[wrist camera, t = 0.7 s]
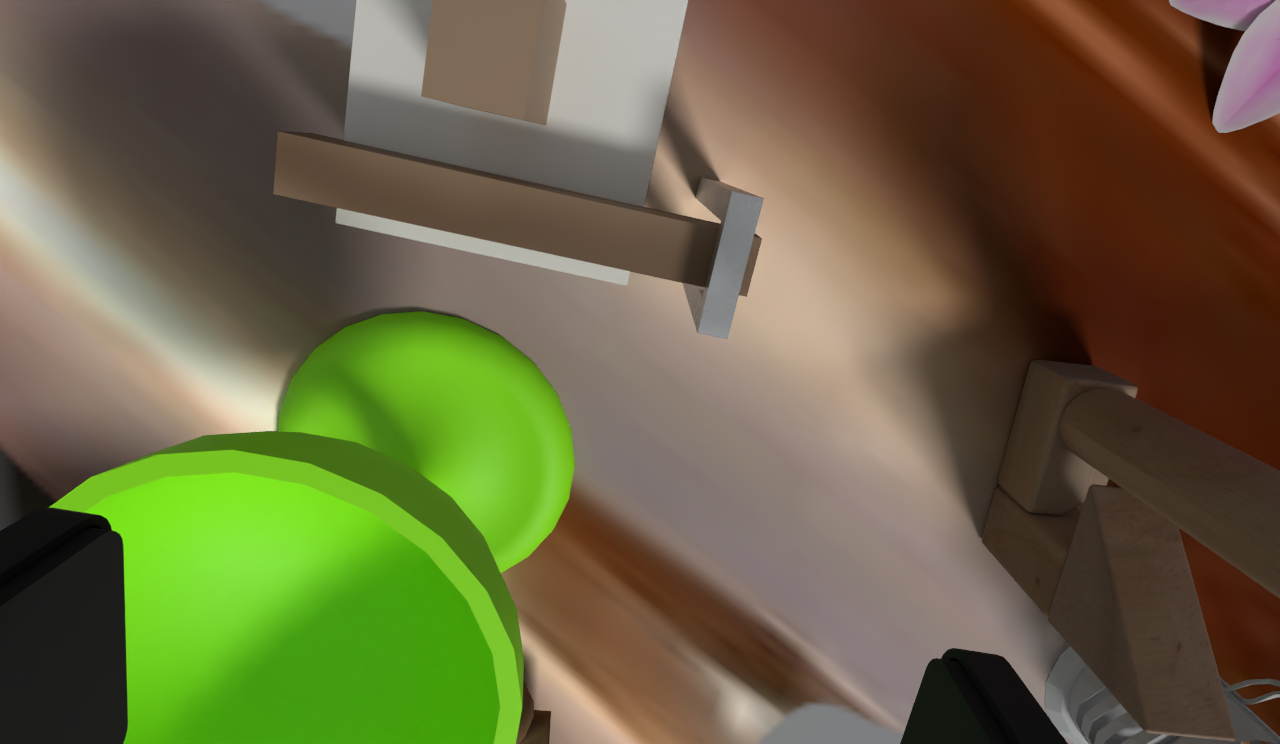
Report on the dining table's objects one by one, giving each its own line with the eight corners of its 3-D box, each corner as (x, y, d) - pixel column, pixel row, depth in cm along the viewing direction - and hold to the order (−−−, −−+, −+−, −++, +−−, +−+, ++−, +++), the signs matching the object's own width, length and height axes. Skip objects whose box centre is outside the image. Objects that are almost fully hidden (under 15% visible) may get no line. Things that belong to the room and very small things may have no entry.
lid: (397, -191, 25) (307, -317, 18) (711, -113, 26) (735, -206, 19) (356, 218, 29) (269, 238, 22) (628, 277, 29) (623, 313, 23)
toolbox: (449, -118, 32) (322, -296, 19) (773, -39, 32) (855, -159, 20) (409, 211, 36) (282, 244, 23) (698, 274, 36) (727, 339, 24)
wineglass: (577, 318, 37) (522, 462, 20) (572, 591, 42) (522, 900, 25) (262, 303, 37) (-68, 436, 20) (291, 579, 42) (43, 882, 24)
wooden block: (977, 541, 41) (1221, 826, 24) (1027, 356, 38) (1351, 530, 20) (1041, 547, 41) (1332, 836, 24) (1097, 364, 38) (1478, 543, 21)
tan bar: (311, 133, 26) (277, 131, 23) (751, 230, 27) (761, 238, 24) (306, 190, 26) (273, 194, 24) (737, 283, 27) (746, 296, 25)
